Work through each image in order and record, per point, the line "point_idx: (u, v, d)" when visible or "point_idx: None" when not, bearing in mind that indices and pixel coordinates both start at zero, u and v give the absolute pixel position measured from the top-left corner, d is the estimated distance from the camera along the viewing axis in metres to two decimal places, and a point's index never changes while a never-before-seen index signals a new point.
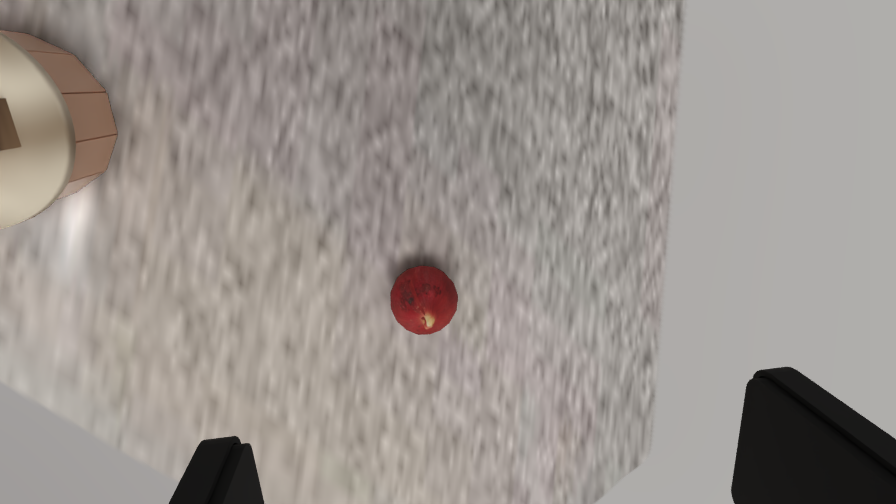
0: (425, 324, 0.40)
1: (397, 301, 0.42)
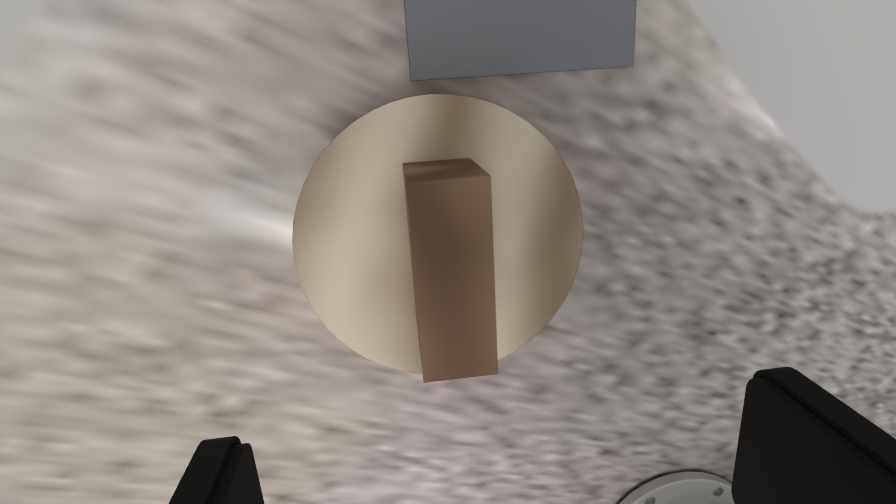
0: None
1: None
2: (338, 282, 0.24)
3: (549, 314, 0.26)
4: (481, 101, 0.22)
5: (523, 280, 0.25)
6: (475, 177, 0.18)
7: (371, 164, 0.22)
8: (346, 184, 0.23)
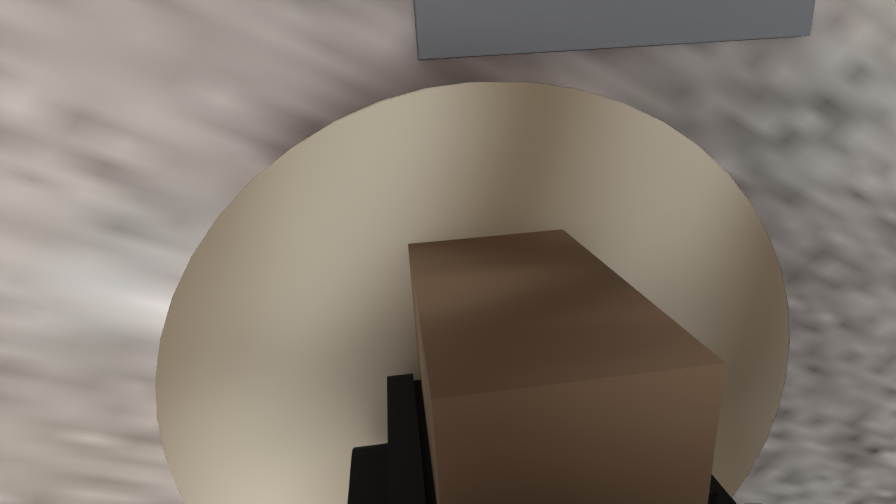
0: None
1: None
2: (267, 492, 0.11)
3: None
4: (598, 99, 0.09)
5: None
6: (672, 369, 0.05)
7: (334, 247, 0.09)
8: (276, 294, 0.10)
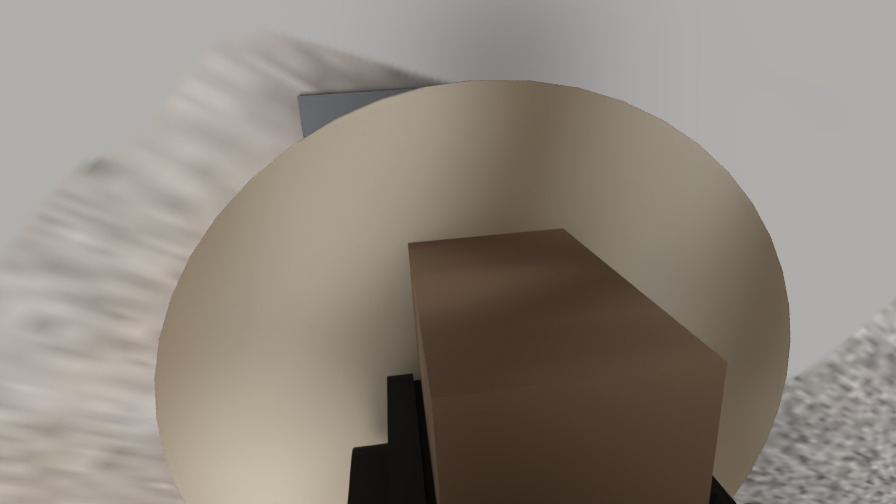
0: None
1: None
2: (267, 492, 0.11)
3: None
4: (598, 97, 0.09)
5: None
6: (673, 368, 0.05)
7: (334, 246, 0.09)
8: (276, 293, 0.10)
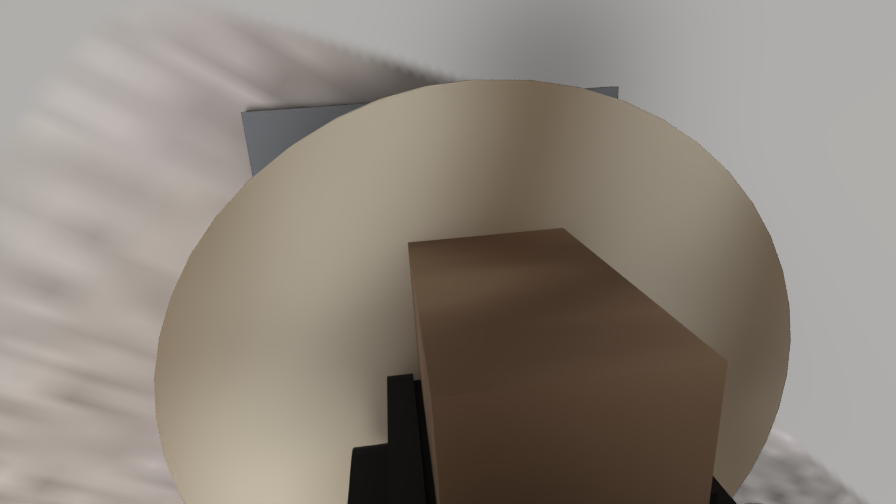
0: None
1: None
2: (267, 492, 0.11)
3: None
4: (598, 97, 0.09)
5: None
6: (673, 367, 0.05)
7: (334, 246, 0.09)
8: (276, 292, 0.10)
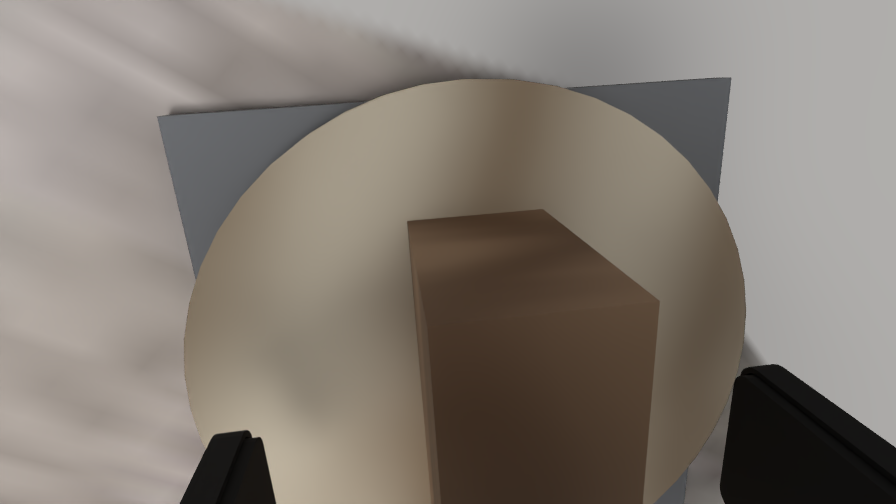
0: None
1: None
2: (281, 444, 0.12)
3: (668, 479, 0.14)
4: (573, 94, 0.11)
5: None
6: (617, 305, 0.07)
7: (342, 224, 0.11)
8: (291, 264, 0.11)
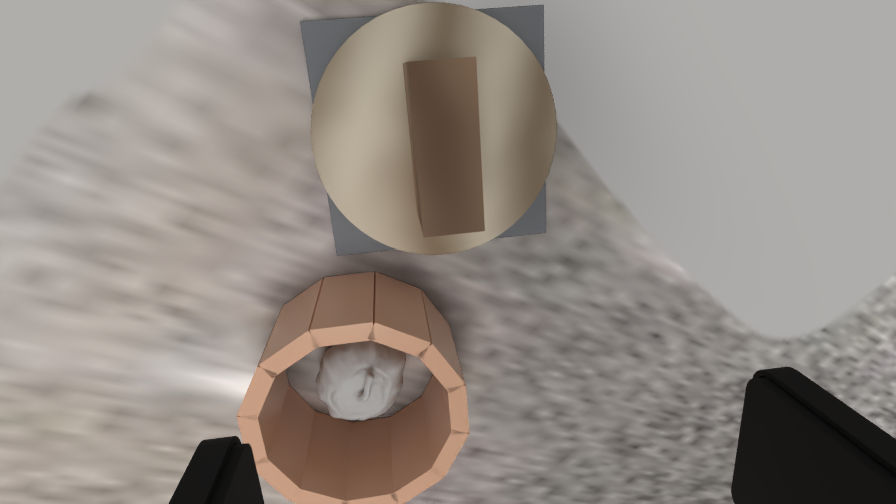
0: None
1: None
2: (349, 170, 0.28)
3: (529, 201, 0.30)
4: (468, 9, 0.26)
5: (507, 170, 0.29)
6: (463, 57, 0.22)
7: (376, 64, 0.27)
8: (355, 82, 0.27)
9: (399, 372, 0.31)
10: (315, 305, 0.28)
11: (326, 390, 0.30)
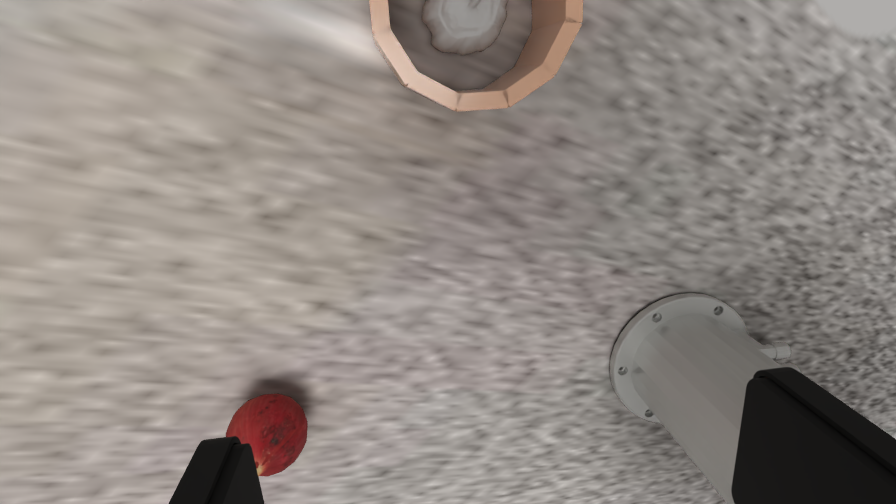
0: None
1: (268, 420, 0.37)
2: None
3: None
4: None
5: None
6: None
7: None
8: None
9: None
10: None
11: (438, 1, 0.31)
